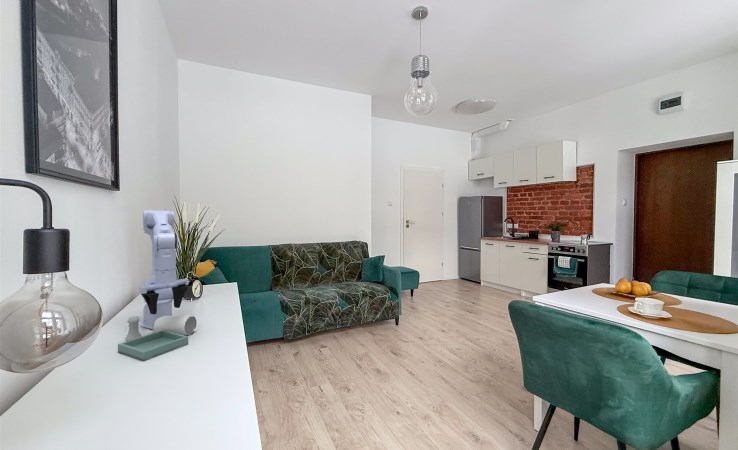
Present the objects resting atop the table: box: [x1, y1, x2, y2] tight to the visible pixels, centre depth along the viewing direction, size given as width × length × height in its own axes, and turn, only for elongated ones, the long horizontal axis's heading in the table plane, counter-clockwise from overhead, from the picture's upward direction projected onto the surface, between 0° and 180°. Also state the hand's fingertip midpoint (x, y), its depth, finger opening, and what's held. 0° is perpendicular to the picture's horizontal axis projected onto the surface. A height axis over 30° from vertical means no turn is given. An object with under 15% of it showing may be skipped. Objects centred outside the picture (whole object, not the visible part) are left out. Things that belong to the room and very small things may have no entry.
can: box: [152, 314, 198, 336], centre depth 105 cm, size 6×6×12 cm
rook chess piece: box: [124, 316, 142, 342], centre depth 98 cm, size 4×4×8 cm
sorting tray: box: [117, 330, 189, 362], centre depth 93 cm, size 13×13×2 cm
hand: (165, 310), depth 99 cm, fingers open, 7 cm apart
